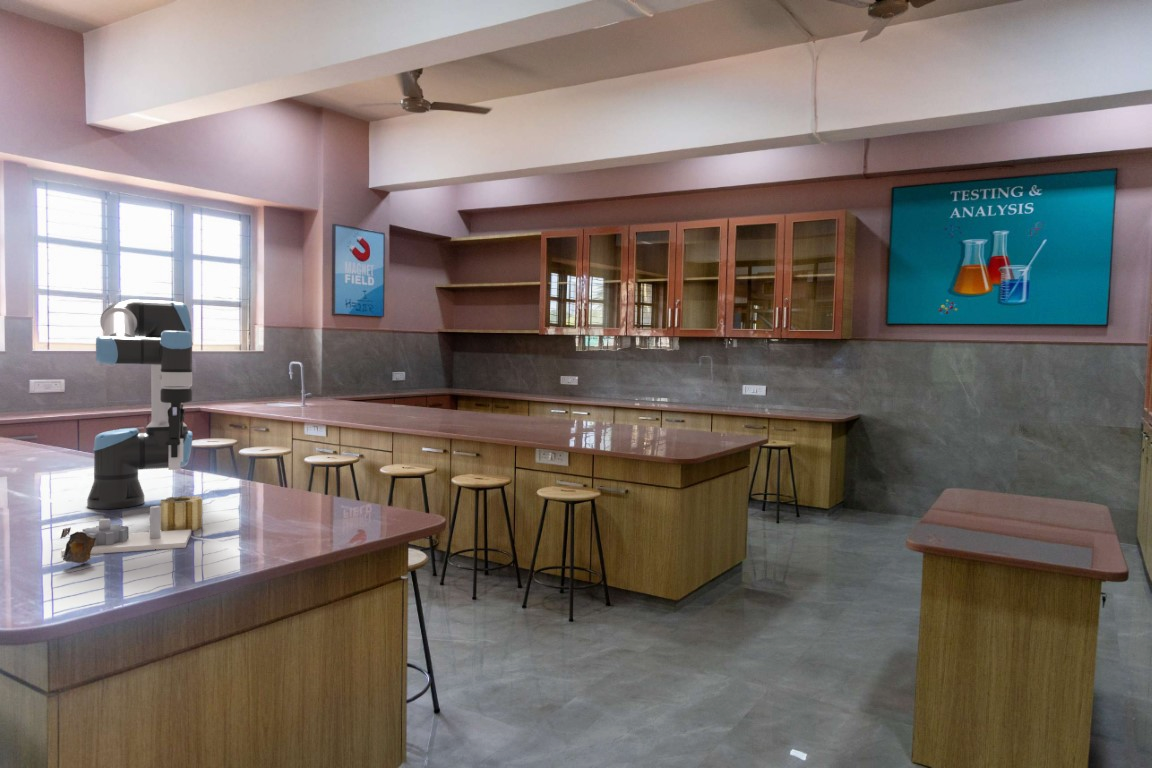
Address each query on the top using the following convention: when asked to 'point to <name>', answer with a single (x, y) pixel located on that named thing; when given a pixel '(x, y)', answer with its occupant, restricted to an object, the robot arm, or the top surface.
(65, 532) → the rock
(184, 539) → the gear board
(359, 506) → the top surface
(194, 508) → the brass gear
